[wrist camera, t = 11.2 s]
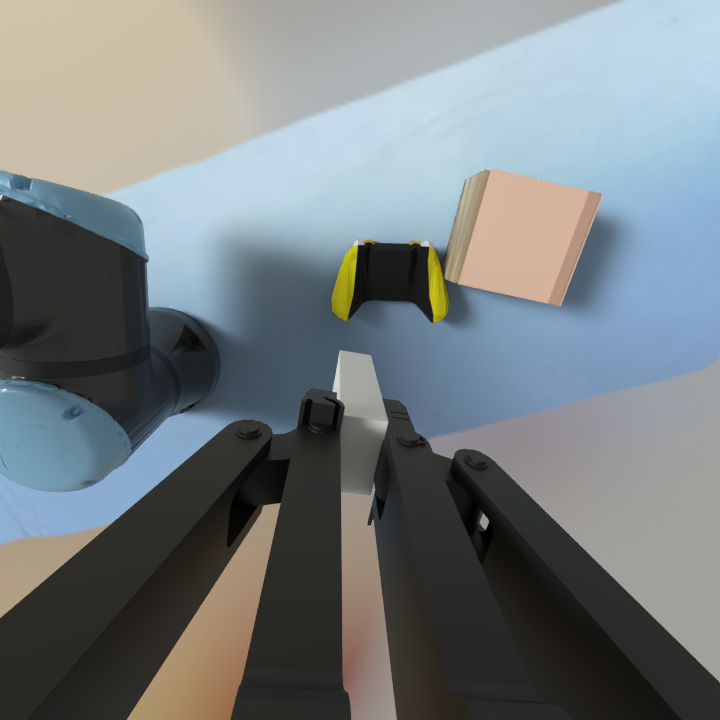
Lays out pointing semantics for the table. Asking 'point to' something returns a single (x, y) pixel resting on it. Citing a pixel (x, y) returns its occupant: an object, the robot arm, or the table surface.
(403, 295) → the gaming controller
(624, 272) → the table surface
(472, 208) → the box
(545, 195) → the lid
